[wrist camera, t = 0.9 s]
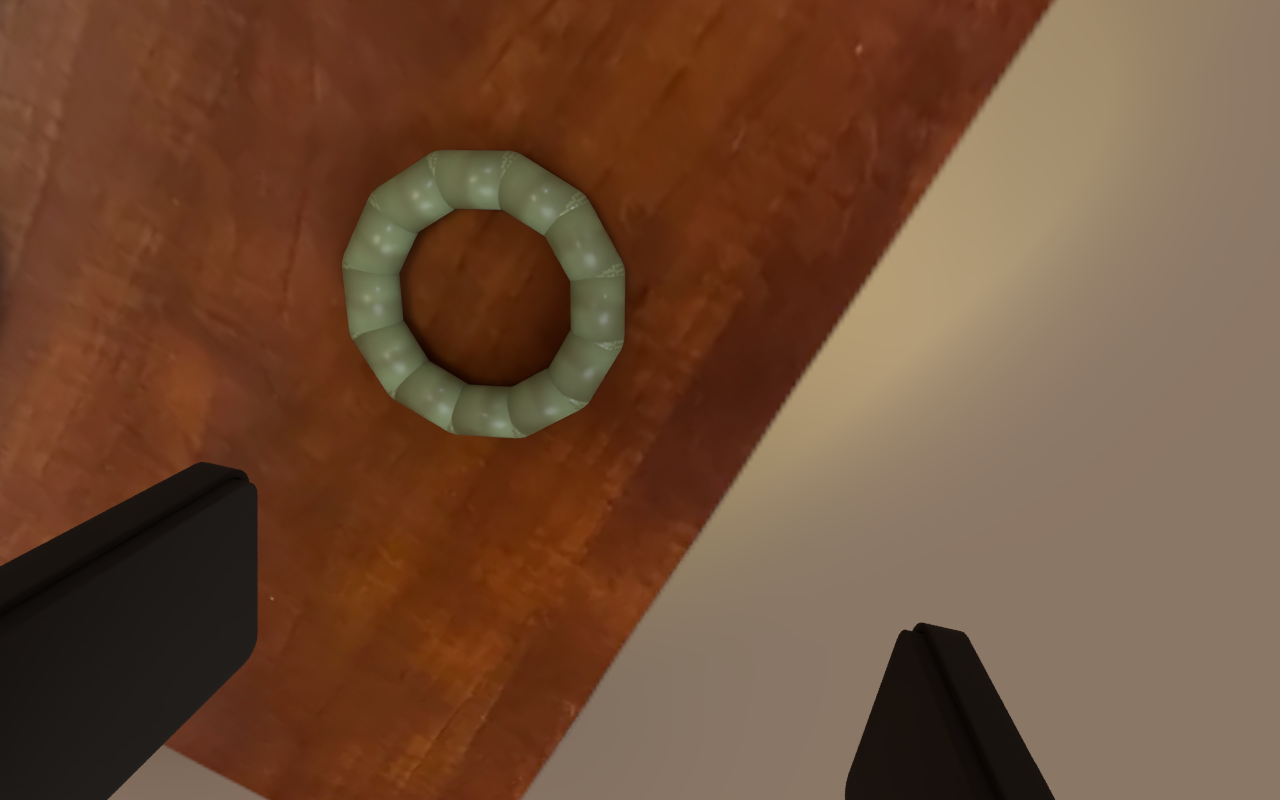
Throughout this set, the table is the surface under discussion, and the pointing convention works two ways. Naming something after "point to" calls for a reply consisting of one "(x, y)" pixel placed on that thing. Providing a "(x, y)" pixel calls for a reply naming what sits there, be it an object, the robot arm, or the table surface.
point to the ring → (538, 205)
